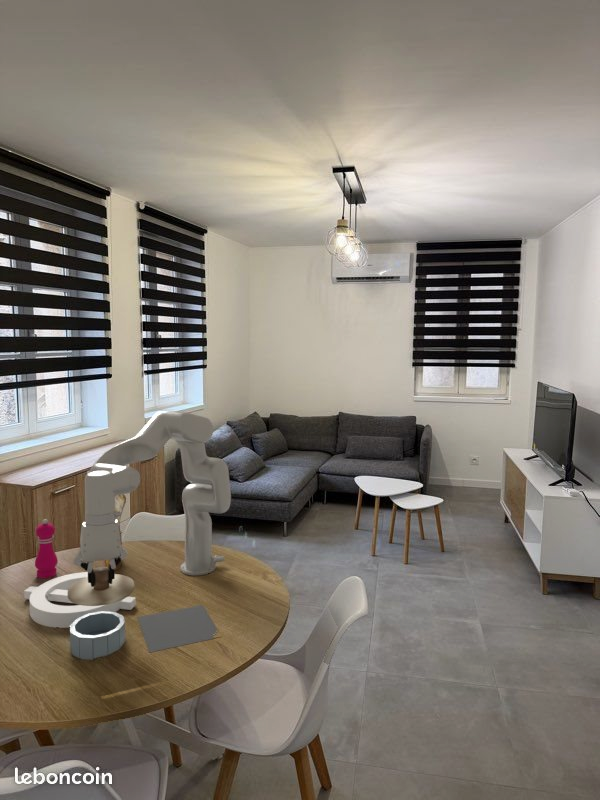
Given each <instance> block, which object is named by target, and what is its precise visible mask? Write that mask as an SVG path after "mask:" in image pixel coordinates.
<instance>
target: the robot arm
mask: <svg viewBox="0 0 600 800" xmlns="http://www.w3.org/2000/svg"><path fill="white" fill-rule="evenodd" d="M213 435H214V425H213V422H212V421H211V420H210V419H209V418H208V417H204V416H201V415H198V414H194V413H189V412H184V411H172V410H171V411H170V410H161V411H160V410H159V411H157V412H156V413H154V414H153V415H152V416H151V417H150V418H149V420H147V422H146V423H145V425H143V427H142V428H141V429H140V430H139V431H138V432H137V434H135V435H134V437H132V438H129V439H127V440H125V441H123V442H120V443H118V444H117V445H115V446H112V447H110V448H109V449H107V450H106V451H105V452H104V451H103V453H102V454H101V455H100V457H98V459H97V460H96V461H95V462H94V463H93V465H91V467H90V469H89V470H88V471H89V472H88V473H87V474H86V475H85V477H84V519H85V520H84V521H83V522H82V524H81V528H80V538H79V539H80V540H79V541H80V542H79V550H78V552H77V554H76V555H75V557H74V558H73V560H72V564H74V565H76V566H79V567H80V568H82V569H83V570H85V572H88V583H91V587H94V571H93V570H94V567H93V566H94V562H99V561H106V560H107V559H109V562H110V564H109V567H108V568H109V584H112V579H115V574H116V573H115V572H116V570H114V569H115V568H116V566H117V565H118V564H119V563H120V562H121V563H122V561H123V560H124V559H126V558H127V557H128V556H129V553H128V551H127V550H126V549H125V548H124V547H123V544H122V545H121V540H122V539H121V540H120V532H121V530H120V531H119V524H120V523H119V524H118V520H117V519H116V517H118V516H121V517H122V514H121V511H116V510H115V496H116V495H122V494H124V495H127V494H130V493H132V492H135V490H136V489H137V488H138V487H139V485H140V483H141V475H140V472H139V471H138V470H137V469H136V468H134V467H132V466H127V465H130V464H135V463H139V462H144V461H147V460H151V459H153V458H155V457H156V456H157V455H159V453H160V452H161V450H162V449H163V448H164V446H165V445H166V444H167V442H168V441H169V440H173V441H175V443H176V444H177V445H178V447H179V450H180V451H179V452H180V455H181V456H180V457H181V465H182V471H183V472H182V473H183V476H184V479H185V480H186V481H187V482H189V483H190V484H187V485H186V486H185V487H184V488H183V490H182V492H181V493H182V495H181V501H182V507H183V511H184V562H182V564H180V572H182V573H183V574H185V575H188V576H195V577H196V576H204V575H208V573H209V574H210V573H213V572H214V571H215V570H216V569H217V567H216V566H217V564H216V563H220V562H225V556H224V555H219V554H215V555H213V554H212V545H213V544H212V542H213V541H212V538H213V537H212V536H213V535H212V533H213V531H212V529H213V527H212V525H213V522H212V517H211V515H210V513H212V514H213V513H214V514H223V513H224V514H225V513H226V512H227V511H228V510H229V509H230V506H231V502H232V495H231V494H232V493H231V484H230V481H231V480H230V473H229V472H230V471H229V467H228V465H227V463H226V461H225V460H223V459H222V458H218V457H210V456H208V455H207V451H206V443H207V442H209V441H210V440H211V439H212V437H213ZM114 558H115V559H114ZM212 571H213V572H212Z"/></svg>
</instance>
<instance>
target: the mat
mask: <svg viewBox="0 0 600 800" xmlns="http://www.w3.org/2000/svg"><path fill="white" fill-rule="evenodd" d="M137 620H138V623H139V626H140V629H141V633H142V635H143V638H144V640H145V643H146V647H147V649H148V652H149V653H155V652H159V651H163V650H167V649H172V648H173V649H174V648H178V647H181V646H187V645H191V644H195V643H201V642H204V641H209V640H214V639H213V638H214V637H213V636H215V635H216V634H215V632H216V630H217V631H219V630H218V628H217V626H216V625H215V623H214V621H213V620H212V617H211V616H210V614H209V613H208V611H207V609H206V608H205V606H204V604H201V605H196V606H195V605H194V606H190V607H184V608H179V609H174V610H168V611H163V612H158V613H152V614H148V615H142V616H138V617H137ZM216 633H217V632H216ZM213 634H215V635H213Z"/></svg>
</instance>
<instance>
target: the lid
mask: <svg viewBox="0 0 600 800" xmlns="http://www.w3.org/2000/svg"><path fill="white" fill-rule="evenodd" d="M93 571H94V587H91V583H88V577H87V578H84V579H81V580H79V581H77V582H75V583H74V584H72V585H71V586H70V587H69V589H68V599H69V600H70V601H71V602H73V603H72V604H75V605H83V606H101V605H107V604H111V603H115V602H118V601H120V600H123V599H125V598H126V597H130V596H131V595H132V594H133V592H134V590H135V581H134V580H133V579H132V577H130V576H126V575H123V574H119V573H118V574H117V573H115V579H112V584H109V568H108V567H107V566H99V567H95V568H93Z"/></svg>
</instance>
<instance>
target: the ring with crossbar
mask: <svg viewBox="0 0 600 800" xmlns="http://www.w3.org/2000/svg"><path fill="white" fill-rule="evenodd" d="M87 577H88V572H87V571H82V572H81V571H80V572H74V573H69V574H65V575H61V576H57V577H55V578H52V579H50V580H48V581H45V582H44V583H41V584H40V585H39V586H31V585H30V586H29V587H28V588H26V589H25V590H23V598H24V600H29V615H30V618H31V619H32V620H33V622H35V623H37V624H39V625H41V626H44V627H50V628H56V627H59V628H60V629H61V628H62V629H63V628H64V629H67V628H69V627H70V625H71V624H72V623H73V622H74V621H75V620H76V619H77V618H79V617H82V616H84V615H86V614H89V613H94V612H99V611H109V612H116V613H117V612H118V611H119V610H120V609H121V610H130V611H131V610H133V608H134V607H135V606H136V603H137V598H136V597H134V596H128V597H126V598H125V599H123V600H120V601H118V602H115V603H111V604H107V605H101V606H83V605H78V604H75V605H60V604H56V603H55V604H54V603H52V602H59V603H68V604H74V603H73V602H71V601H70V600H69V599H68V589H69V587H70V586H71V585H72V584H74V583H75V582H77V581H79V580H81V579H84V578H87ZM69 629H70V628H69Z"/></svg>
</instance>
